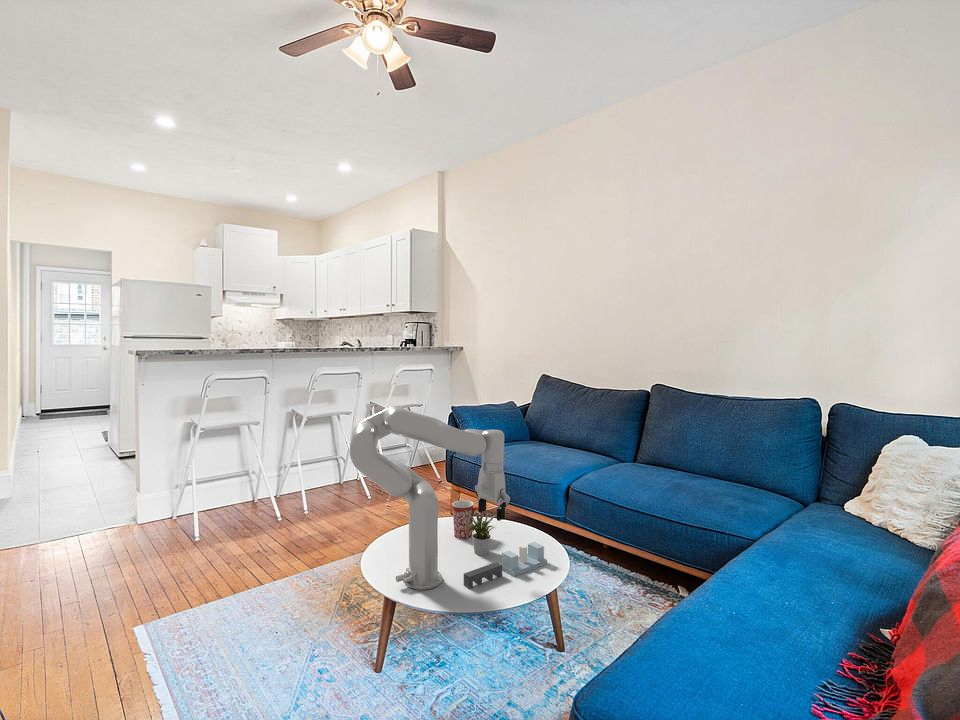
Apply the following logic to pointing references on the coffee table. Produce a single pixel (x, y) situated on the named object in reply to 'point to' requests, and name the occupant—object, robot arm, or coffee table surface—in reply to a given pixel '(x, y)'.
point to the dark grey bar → (482, 574)
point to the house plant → (480, 534)
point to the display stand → (523, 559)
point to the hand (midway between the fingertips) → (491, 515)
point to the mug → (459, 519)
